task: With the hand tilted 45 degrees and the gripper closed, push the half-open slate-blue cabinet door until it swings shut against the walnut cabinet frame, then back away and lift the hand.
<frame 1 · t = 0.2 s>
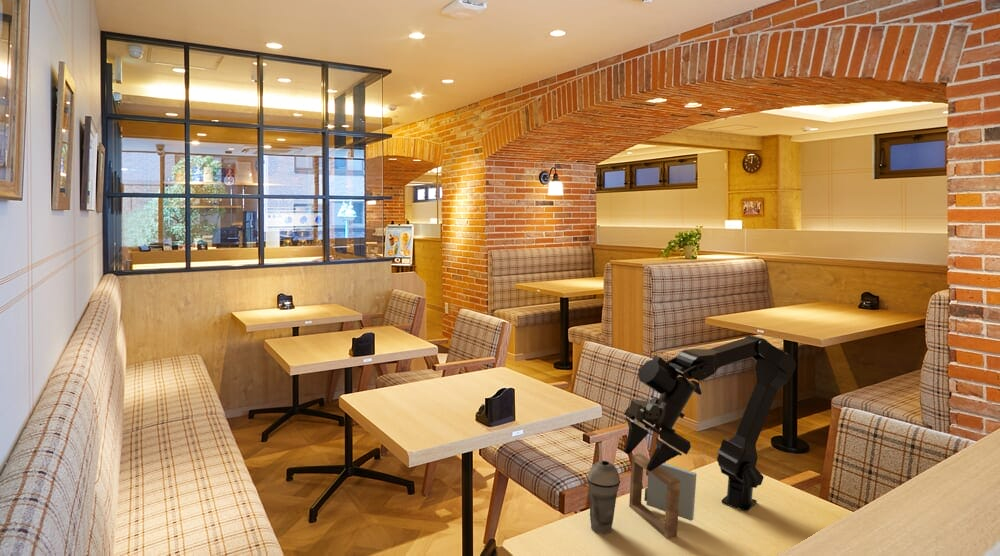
hand: (636, 461, 136), 15 cm above the table, tool tilted 30°, fingers open, 9 cm apart
cabinet door: (670, 488, 141), point 7 cm above the table, hinge at 30.0°
cabinet frame: (646, 508, 145), on the table
beverage cup: (601, 529, 136), on the table
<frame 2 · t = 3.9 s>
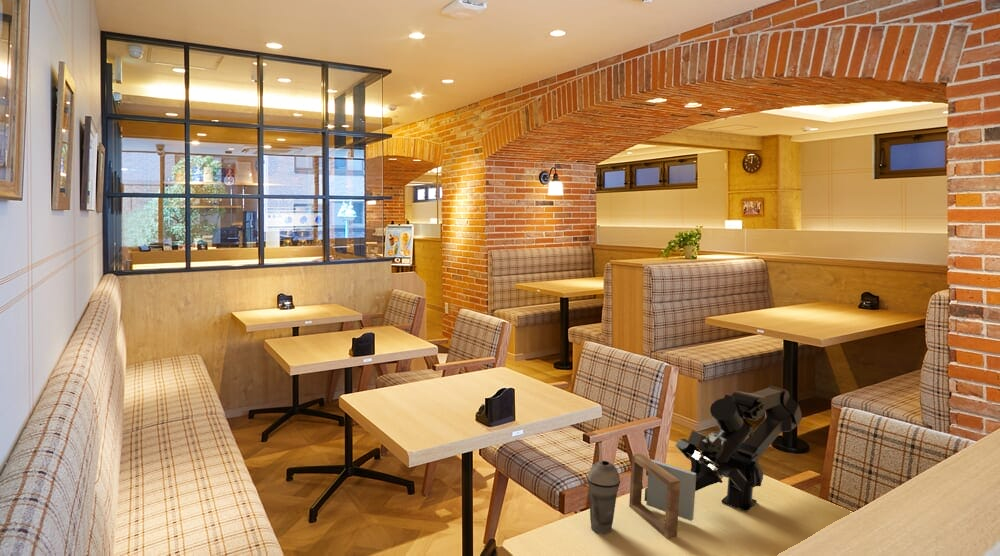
hand: (687, 491, 140), 7 cm above the table, tool tilted 45°, fingers closed
cabinet door: (670, 488, 141), point 7 cm above the table, hinge at 29.4°, touching gripper
everything else where it was.
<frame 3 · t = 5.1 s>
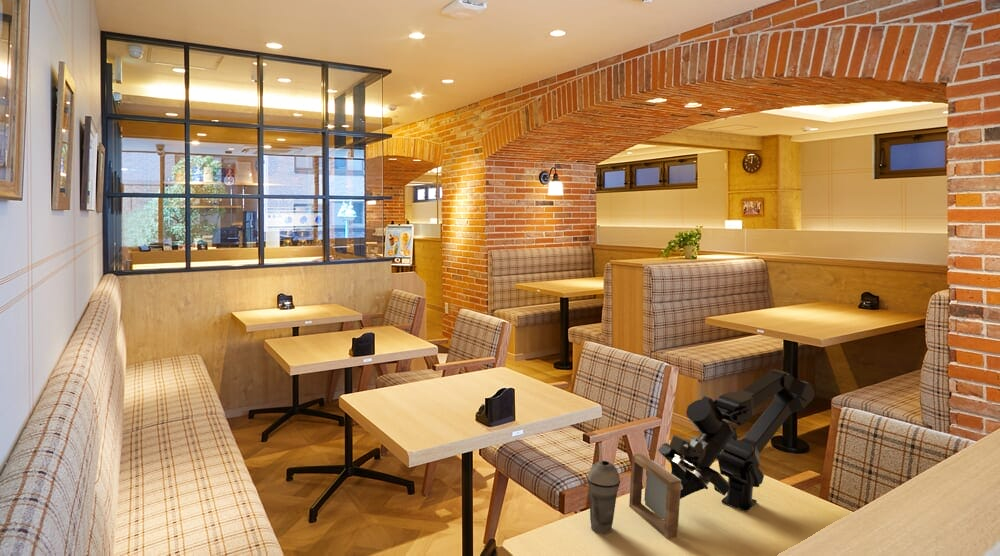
hand: (670, 497, 138), 6 cm above the table, tool tilted 45°, fingers closed
cabinet door: (663, 491, 139), point 7 cm above the table, hinge at -0.3°, touching gripper
everything else where it was.
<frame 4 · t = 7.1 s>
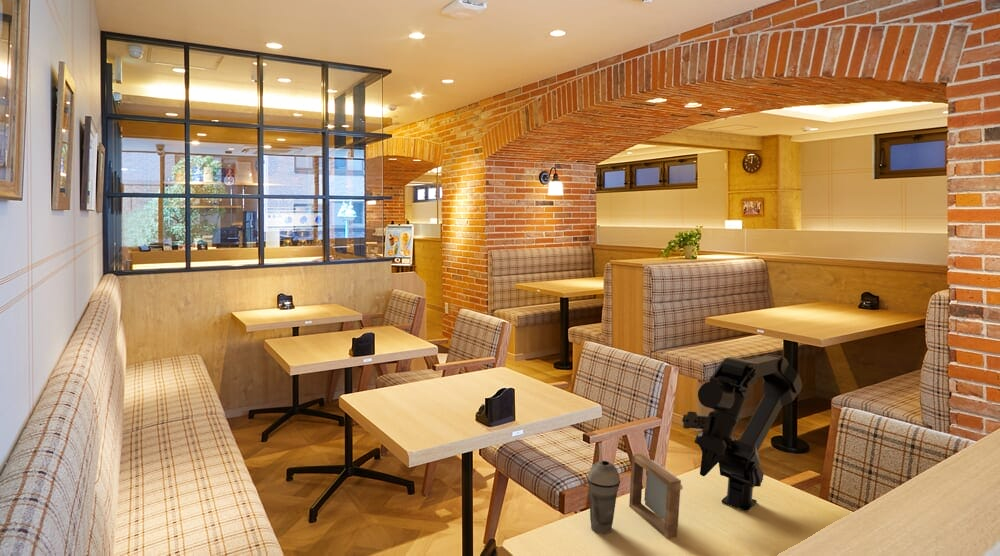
hand: (702, 474, 141), 10 cm above the table, tool tilted 20°, fingers closed
cabinet door: (663, 491, 139), point 7 cm above the table, hinge at -0.6°
everything else where it was.
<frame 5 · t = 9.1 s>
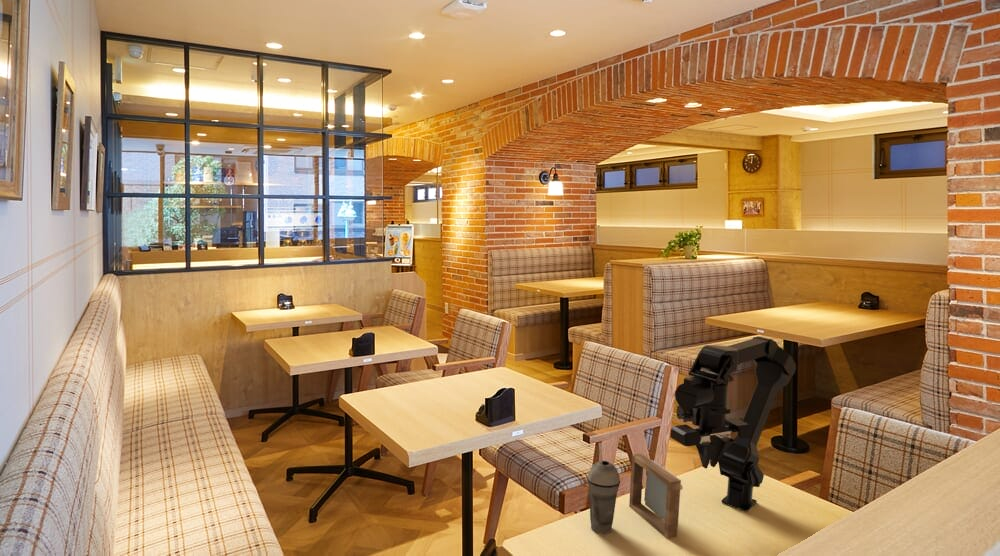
hand: (708, 467, 140), 12 cm above the table, tool pointing down, fingers closed
nothing on the table moved.
at the end: cabinet door at -1° (first picture: +30°); beverage cup moved 0.2 cm from its start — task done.
